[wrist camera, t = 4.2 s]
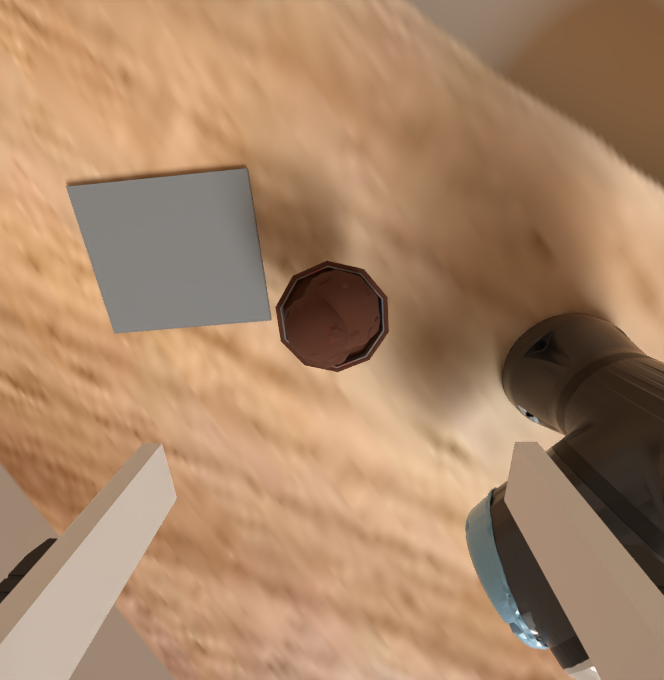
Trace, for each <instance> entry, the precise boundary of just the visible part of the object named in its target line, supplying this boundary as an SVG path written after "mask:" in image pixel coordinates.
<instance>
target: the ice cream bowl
mask: <svg viewBox="0 0 664 680" xmlns="http://www.w3.org/2000/svg"><path fill="white" fill-rule="evenodd" d="M276 313H277V319H278V326H279V332H280V338H281V342H282V343H283V344H284V345H285V346H286V347H287V348H288V349H289V350H290V351H291V352H292V353H293V354H294V355H295V356H296V357H297V358H298V359H299V360H300V361H301V362H302V363H303V364H304V365H306V366H311V367H316V368H321V369H326V370H331V371H335V372H339V371H342V370H344V369H347V368H350V367H352V366H355V365H357V364H360V363H362V362H365V361H368V360H370V358H371V357H372V355H373V354H374V352H375V351H376V350H377V348H378V347H379V345H380V344H381V342H382V341H383V339H384V338H385V336H386V335H387V334H388V332H389V329H388V302H387V296H386V295H385V294H384V293H383V291H382V290H381V289H380V288H379V287H378V286H377V284H376V283H375V282H374V281H373V280H372V278H371V277H370V276H369V275H368V274H367V272H366V271H365V270H364V269H360V268H356V267H352V266H347V265H343V264H339V263H334V262H330V261H326V262H323V263H321V264H319V265H316V266H314V267H312V268H310V269H307V270H305V271H303V272H301V273H298V274H296V275H294V276H293V277H292V278H291V280H290V282H289V284H288V286H287V287H286V289H285V291H284V293H283V295H282V297H281V298H280V300H279V302H278V304H277V306H276Z"/></svg>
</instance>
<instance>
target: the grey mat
mask: <svg viewBox="0 0 664 680" xmlns="http://www.w3.org/2000/svg"><path fill="white" fill-rule="evenodd" d="M66 188H67V191H68V194H69V197H70V200H71V203H72V206H73V209H74V212H75V215H76V218H77V221H78V224H79V227H80V230H81V233H82V236H83V239H84V243H85V246H86V249H87V252H88V255H89V258H90V261H91V264H92V267H93V270H94V273H95V276H96V279H97V282H98V285H99V288H100V291H101V294H102V297H103V300H104V303H105V306H106V309H107V312H108V315H109V318H110V321H111V324H112V327H113V330H114V333H126V332H138V331H150V330H162V329H173V328H185V327H197V326H209V325H221V324H233V323H245V322H257V321H269V320H271V313H270V306H269V300H268V294H267V287H266V281H265V275H264V268H263V262H262V255H261V249H260V243H259V236H258V230H257V224H256V217H255V211H254V205H253V198H252V192H251V185H250V179H249V173H248V169H247V168H245V169H235V170H225V171H215V172H205V173H196V174H186V175H176V176H166V177H156V178H146V179H137V180H127V181H117V182H107V183H97V184H87V185H78V186H68V187H66Z"/></svg>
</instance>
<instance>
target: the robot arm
mask: <svg viewBox="0 0 664 680" xmlns="http://www.w3.org/2000/svg"><path fill="white" fill-rule="evenodd" d="M503 387H504V390H505V393H506V395H507V397H508V399H509V400H510V402H511V403H512V404H513V405H514V406H515V407H516V408H517V409H518V410H519V411H520V412H521V413H522V414H523V415H524V416H525V417H527V418H528V419H530V420H531V421H533V422H535V423H538V424H540V425H542V426H544V427H547V428H549V429H551V430H554V431H556V432H558V433H561V434H563V435H565V436H566V437H564V438H563V439H562V440H561V441H559V442H558V443H557V444H555V445H554V446H552V447H551V448H550V449H549V450H547V451H546V452H545V451H544V450H543V448H542V447H541V446H540V445H539V444H538V442H515V445H514V451H513V456H512V461H511V466H510V471H509V477H508V481H506V482H505V483H504V484H502V485H501V486H500V487H498V488H494V489H492V490H491V491H490V492H489V494H488V496H487V497H486V498H485V499H483V500H482V501H481V502H480V503H479V504H478V505H477V506H475V507H474V508H473V509H472V510H471V511H470V513H469V514H468V517H467V520H466V528H465V530H466V541H467V546H468V550H469V554H470V557H471V560H472V563H473V565H474V568H475V570H476V573H477V575H478V577H479V579H480V582H481V584H482V586H483V588H484V590H485V592H486V593H487V595H488V597H489V599H490V601H491V602H492V604H493V606H494V607H495V609H496V611H497V612H498V614H499V615H500V616H501V618H502V619H503V620H504V622H506V623H509V625H510V627H511V630H512V632H513V633H514V634H515V635H516V636H517V637H518V638H519V639H520V640H521V641H522V642H523V643H525V644H526V645H528V646H530V647H532V648H540V649H547V648H548V647H549V648H550V650H551V651H552V653H553V654H554V656H555V657H556V659H557V661H558V662H559V664H560V665H561V667H562V668H563V670H564V671H565V672H566V674H567V675H569V676H571V677H573V678H575V679H577V680H664V363H663V362H660V361H658V360H656V359H653V358H651V357H649V356H647V355H646V354H645V353H644V352H642V351H641V350H640V349H639V348H638V347H637V346H636V345H635V344H634V343H633V342H632V341H631V340H630V339H629V338H628V337H627V335H626V334H625V333H624V332H623V331H622V330H621V329H619V328H618V327H617V326H615V325H613V324H611V323H609V322H607V321H605V320H602V319H599V318H597V317H594V316H591V315H586V314H575V313H574V314H564V315H559V316H555V317H552V318H549V319H547V320H545V321H543V322H541V323H539V324H537V325H535V326H534V327H532V328H531V329H530V330H528V331H527V332H526V333H525V334H524V335H523V336H522V337H521V338H520V339H519V340H518V341H517V342H516V343H515V345H514V346H513V347H512V349H511V351H510V352H509V354H508V356H507V359H506V361H505V364H504V369H503ZM176 499H177V497H176V493H175V490H174V486H173V482H172V479H171V475H170V471H169V468H168V464H167V460H166V457H165V453H164V449H163V446H162V443H142V445H141V446H140V447H139V448H138V449H137V450H136V451H135V452H134V454H133V455H132V456H131V457H130V458H129V459H128V460H127V462H126V463H125V464H124V465H123V466H122V467H121V468H120V469H119V471H118V472H117V473H116V474H115V475H114V476H113V477H112V478H111V480H110V481H109V482H108V483H107V484H106V485H105V486H104V487H103V489H102V490H101V491H100V492H99V493H98V494H97V495H96V496H95V498H94V499H93V500H92V501H91V502H90V503H89V504H88V505H87V507H86V508H85V509H84V510H83V511H82V512H81V513H80V514H79V516H78V517H77V518H76V519H75V520H74V521H73V522H72V523H71V525H70V526H69V527H68V528H67V529H66V530H65V531H64V533H63V534H62V535H61V536H60V537H59V538H58V539H52V538H51V539H50V538H49V539H48V540H46V541H45V542H44V543H42V544H41V545H40V546H38V547H37V548H36V549H34V550H33V551H31V552H30V553H29V554H28V555H26V556H25V557H24V559H23V560H22V561H21V562H20V563H19V564H18V565H17V566H16V567H15V568H14V569H13V570H12V571H11V572H10V573H9V575H8V578H7V579H4V580H3V581H2V582H1V583H0V680H69V678H70V676H71V675H72V673H73V671H74V670H75V668H76V666H77V665H78V663H79V661H80V660H81V658H82V656H83V655H84V653H85V651H86V649H87V648H88V646H89V645H90V643H91V641H92V639H93V638H94V636H95V634H96V633H97V631H98V629H99V628H100V626H101V624H102V623H103V621H104V619H105V618H106V616H107V614H108V613H109V611H110V609H111V608H112V606H113V604H114V603H115V601H116V599H117V598H118V596H119V594H120V593H121V591H122V589H123V588H124V586H125V584H126V583H127V581H128V579H129V578H130V576H131V574H132V573H133V571H134V569H135V568H136V566H137V564H138V562H139V561H140V559H141V557H142V556H143V554H144V552H145V551H146V549H147V547H148V546H149V544H150V542H151V541H152V539H153V537H154V536H155V534H156V532H157V531H158V529H159V527H160V526H161V524H162V522H163V521H164V519H165V517H166V516H167V514H168V512H169V511H170V509H171V507H172V506H173V504H174V502H175V501H176Z"/></svg>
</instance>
